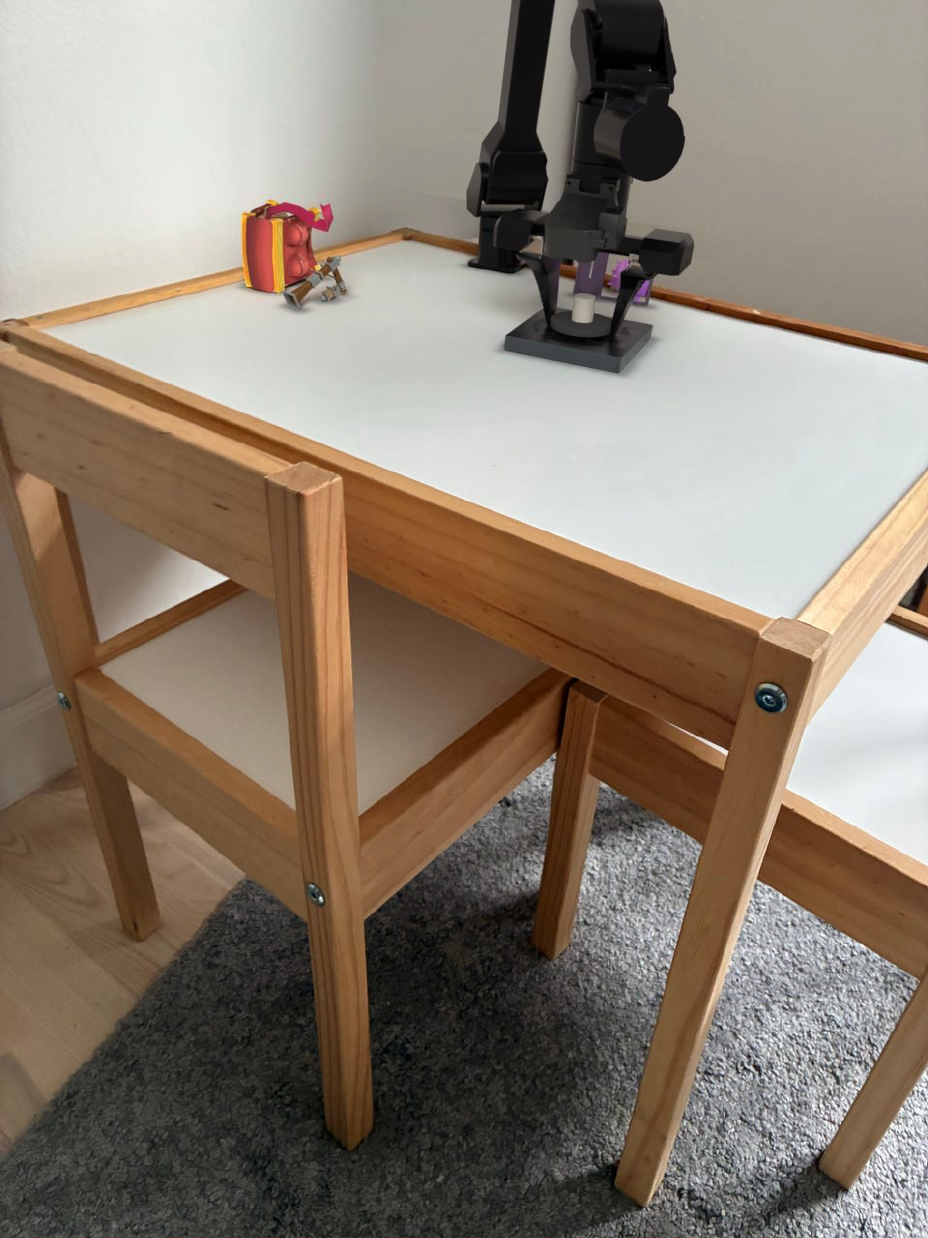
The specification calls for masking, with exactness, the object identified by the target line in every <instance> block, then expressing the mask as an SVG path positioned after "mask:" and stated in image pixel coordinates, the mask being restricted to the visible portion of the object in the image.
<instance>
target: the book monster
mask: <svg viewBox="0 0 928 1238" xmlns="http://www.w3.org/2000/svg"><path fill="white" fill-rule="evenodd" d="M319 207H320V209H319V208H318V207H316V206H311V207H309V210H308V209H306V208H305V207H303V206H301V205H299V204H294V203H291V202H288V201H283V202H281V203H280V202H279V201H276V200H274V199H268V200H266V203H265V204H262V205H260V206H258V207H254V208H253V209H251V210H250V211H249V212H248V211H244V212H242V214H241V221H240V222H241V224H240V225H241V226H240V230H241V231H240V232H241V233H240V234H241V235H240V236H241V237H240V238H241V256H242V266H243V276H244V282H245V287H246V288H247V287H248V288H252V289H254V290H258V291H262V292H266V293H278V294H280V293H282V292H284V291H286V287H287V286H289V285H292V284H293V283H296V282H298V281H301V280H306V279H307V278H309V277H310V276H311V275H312V273H314V274H315V272H314V271H316V270H317V271H318V270H319V269H320V268H322V267H321V264H318V263H317V260H316V258H315V254H314V250H313V245H312V232H313V231H312V230H313V229H314V230H317V231H320V232H325V233H329V230H330V227H331V225H332V223H333V221H334V215H333V210H332V207H331V203H330V202H329V203H327V204H326V205H323V204H322V203H319ZM288 214H291V215H288ZM321 215H322V217H323V218H321Z"/></svg>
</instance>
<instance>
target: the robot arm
mask: <svg viewBox="0 0 928 1238" xmlns="http://www.w3.org/2000/svg"><path fill="white" fill-rule="evenodd" d="M555 6H556V0H511V2H510V10H509V20H508V28H507V37H506V45H505V53H504V62H503V63H504V64H503V72H502V80H501V89H500V98H499V106H498V113H497V114H498V115H497V120H496V122H495V124H494V125H493V126H492V127H491V129H490V131H489V132H488V133H487V134H486V136H485V137H484V139H483V140H482V142H481V145H480V152H479V158H478V162H476V163H475V164H474V167H473V171H472V174H471V176H470V180H469V182H468V186H467V188H466V191H465V196H466V197H465V200H466V211H468V212H469V213H470V214H471V215H472V216H473V217H474V218H479V225H478V226H479V229H478V244H477V245H478V246H477V255H476V256H475V257H472V258H471V259H468V260H467V266H470V267H476V268H482V269H488V270H494V271H500V272H506V273H516V272H517V271H519V270H521V269H522V268H524V267H525V266H528V267H529V268H530V270H531V271H532V273H533V276H534V280H535V282H536V285H537V289H538V292H539V297H540V301H541V306H542V309H543V310H544V314H545V318H546V322H547V324H548V325H550V320H551V316H552V315H554V314H555V313H556V308H557V307H558V297H559V288H560V276H561V265H562V259H567V260H573V261H576V262H577V263H578V264H579V263H590V262H592V261H594V260H595V259H596V257H597V255H598V252H602V253H609V255H614V256H621V257H626V258H627V257H628V259H629V261H630V265H629V266H627V267H626V268H625V269H624V270H622V271H621V272H620V289H619V291H617V292H618V293H617V297H616V298H617V301H615V305H614V309H613V313H612V316H611V317H612V321H611V330H610V336H612V337H614V336H615V335H616V334H617V332H618V330H619V328H620V326H621V324H622V322H623V320H625V318H626V316H627V314H628V312H629V310H630V309H631V307H632V305H633V304H632V303H633V301H634V299H635V297H636V295H637V293H638V292H639V290H640V289H641V287H642V286H643V284H644V283H645V281H648V282H649V281H650V280H652V279H653V278H656V277H657V276H658V275H663V276H667V277H677V276H680V275H681V274H682V273H683V272H684V271H685V270H686V269H687V268H688V267H690V266H691V264H692V260H693V255H694V249H695V240H694V238H693V237H692V235H691V233H689V232H682V231H675V230H669V229H660V228H654V229H653V230H651V231H650V232H649V233H647V234H646V235H645V236H637V235H631V234H626V233H627V227H628V226H627V225H628V219H629V218H628V217H627V213H628V212H627V211H628V205H629V199H630V191H631V185H632V184H634V179H635V180H637V181H641V182H645V183H650V182H653V181H654V182H655V181H658V180H660V179H662V178H664V177H665V176H667V175H668V174H669V173H670V172H671V171H672V170H673V169H674V168H675V166H677V164H678V162H679V160H680V159H681V158H682V154H683V151H684V148H685V143H686V135H685V130H684V129H685V128H684V124H683V122H682V118H681V117H680V115H679V114H678V113H677V111H676V110H675V109H673V107H671V106H670V105H669V102H670V96H671V95H673V94H674V93H675V79H674V78H675V77H676V75H677V72H678V71H677V67H676V64H675V63H676V62H675V58H674V53H673V49H672V44H671V39H670V31H669V23H668V19H667V16H666V15H665V9H664V7H663V4H662V3H661V0H577V6H576V9H575V13H574V16H573V18H572V22H571V24H570V34H569V45H570V46H569V47H570V52H571V53H570V54H571V57H572V60H573V64H574V67H575V70H576V74H577V77H578V81H579V83H578V85H577V86H576V88H575V90H574V96H575V98H578V101H577V109H576V117H575V127H574V135H573V144H572V155H571V163H570V171H569V172H568V173H566V178H565V181H564V187H563V188H564V189H563V191H562V194H561V196H560V198H559V200H558V201H557V202H556V203H555V204H554V206H553V208H552V209H551V211H550V212H547V211H542V210H543V207H544V206H543V205H544V202H545V196H546V191H547V187H548V184H549V181H550V180H549V176H548V170H547V165H548V160H549V159H548V156H547V153H546V152H545V150H544V148H543V145H542V143H541V140H540V137H539V135H538V123H539V116H540V110H541V103H542V96H543V89H544V83H545V82H544V81H545V75H546V68H547V62H548V55H549V47H550V40H551V34H552V28H553V27H552V26H553V21H554V13H555ZM653 280H654V279H653Z"/></svg>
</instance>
